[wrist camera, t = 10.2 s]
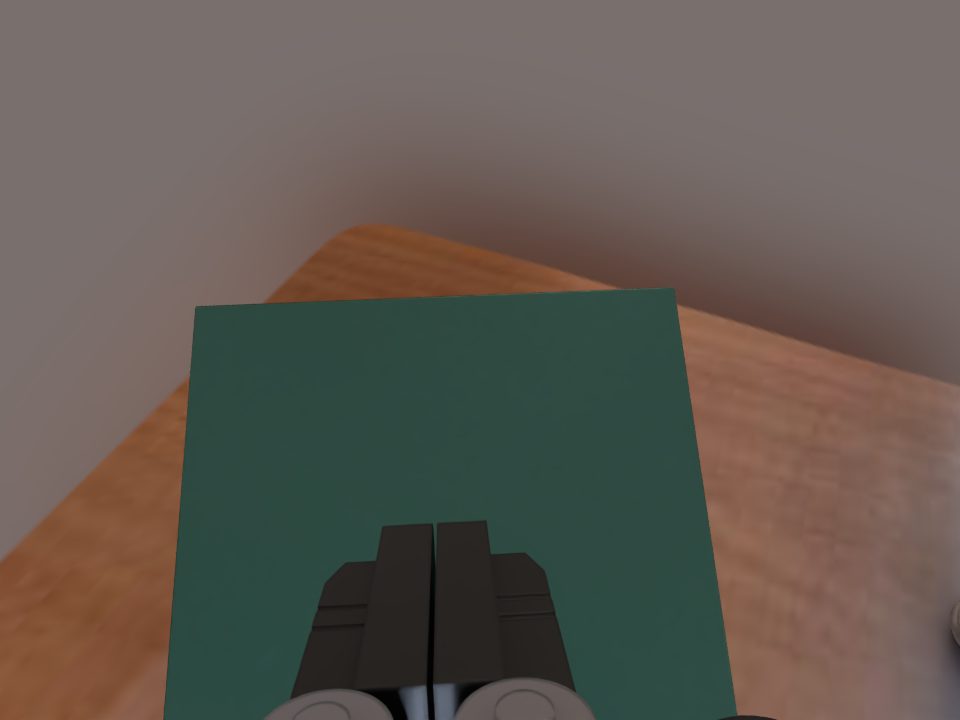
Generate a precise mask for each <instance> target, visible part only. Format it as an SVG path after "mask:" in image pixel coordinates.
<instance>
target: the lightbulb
mask: <svg viewBox="0 0 960 720" xmlns="http://www.w3.org/2000/svg"><path fill="white" fill-rule="evenodd" d="M950 623H951V629H952V632H953V635H954V637H955V639H956V641H957V643H958V644H959V646H960V600H959V601H958V602H957V603H956V604H955V606H954V607H953V609H952V612H951V617H950Z"/></svg>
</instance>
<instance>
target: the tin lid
mask: <svg viewBox="0 0 960 720" xmlns="http://www.w3.org/2000/svg"><path fill="white" fill-rule="evenodd" d="M481 520H487V527H488V535H489V543H490V551H491V554H506V553H524V552H525V553H526V554H528V555H529V556H530V557H531V558H532V559H533V560H534V561H535V562H536V563H537V564H538V565H539V566H540V567H542V568H543V569H544V570H545V573H546V577H547V581H548V585H549V589H550V592H551V598H552V600H553V604H554V608H555V612H556V617H557V620H558V624H559V627H560V631H561V635H562V639H563V643H564V647H565V651H566V655H567V659H568V662H569V666H570V670H571V674H572V678H573V682H574V686H575V690H576V693H577V694H578V695H579V696H580V697H582V698H583V699H584V700H585V701H586V703H587V704H588V705H589V706H590V708H591V709H592V711H593V713H594V715H595V717H596V720H718V719H722V718H726V717H731V716H737V710H736V703H735V696H734V689H733V683H732V676H731V669H730V662H729V656H728V649H727V642H726V635H725V629H724V622H723V615H722V608H721V602H720V595H719V588H718V581H717V575H716V568H715V561H714V554H713V548H712V541H711V534H710V527H709V521H708V514H707V507H706V500H705V493H704V487H703V480H702V473H701V466H700V460H699V453H698V446H697V439H696V433H695V426H694V419H693V412H692V406H691V399H690V392H689V385H688V379H687V372H686V365H685V358H684V352H683V345H682V338H681V331H680V325H679V318H678V311H677V304H676V298H675V291H674V288H673V287H665V288H640V289H639V288H638V289H614V290H589V291H564V292H539V293H515V294H490V295H465V296H440V297H416V298H391V299H366V300H342V301H317V302H292V303H267V304H244V305H220V306H219V305H218V306H197V307H196V308H195V319H194V332H193V345H192V358H191V370H190V383H189V396H188V409H187V422H186V435H185V448H184V461H183V474H182V487H181V500H180V513H179V526H178V539H177V552H176V565H175V578H174V591H173V604H172V617H171V630H170V643H169V656H168V669H167V682H166V695H165V707H164V720H263V719H264V718H265V717H266V716H267V715H268V714H269V713H270V712H272V711H273V710H275V709H276V708H277V707H279V706H280V705H282V704H284V703H286V702H288V701H289V700H290V697H291V694H292V690H293V687H294V684H295V680H296V677H297V674H298V670H299V667H300V664H301V660H302V657H303V654H304V650H305V647H306V644H307V640H308V637H309V634H310V632H312V624H313V620H314V617H315V614H316V611H318V604H319V600H320V597H321V594H322V590H323V587H324V584H325V582H326V581H327V580H328V579H329V578H330V577H331V576H332V575H333V574H334V573H335V572H336V571H337V570H338V569H339V568H340V567H341V566H343V565H344V564H345V563H346V562H363V561H376V558H377V552H378V547H379V541H380V536H381V530H382V527H383V526H390V525H409V524H428V523H433V528H434V543H435V561H436V542H437V523H443V522H462V521H481Z"/></svg>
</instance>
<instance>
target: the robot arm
mask: <svg viewBox="0 0 960 720" xmlns="http://www.w3.org/2000/svg"><path fill="white" fill-rule="evenodd" d="M263 720H596V717H595V715H594V713H593V711H592V709H591V708H590V706H589V705H588V704H587V703H586V701H585V700H584V699H583V698H582V697H580V696H579V695H578V694H577V693H576V690H575V686H574V682H573V678H572V674H571V670H570V666H569V662H568V659H567V655H566V651H565V647H564V643H563V639H562V635H561V631H560V627H559V624H558V620H557V617H556V612H555V608H554V604H553V600H552V598H551V592H550V589H549V585H548V581H547V577H546V573H545V570H544V569H543V568H542V567H540V566H539V565H538V564H537V563H536V562H535V561H534V560H533V559H532V558H531V557H530V556H529V555H528V554H526V553H525V552H524V553H506V554H491V551H490V543H489V535H488V527H487V520H481V521H462V522H443V523H437V542H436V561H435V543H434V528H433V523H428V524H409V525H390V526H383V527H382V530H381V536H380V541H379V547H378V552H377V558H376V561H363V562H346V563H345V564H344V565H343V566H341V567H340V568H339V569H338V570H337V571H336V572H335V573H334V574H333V575H332V576H331V577H330V578H329V579H328V580H327V581H326V582H325V584H324V587H323V590H322V594H321V597H320V600H319V604H318V611H316V614H315V617H314V620H313V624H312V632H310V634H309V637H308V640H307V644H306V647H305V650H304V654H303V657H302V660H301V664H300V667H299V670H298V674H297V677H296V680H295V684H294V687H293V690H292V694H291V697H290V700H289V701H288V702H286V703H284V704H282V705H280V706H279V707H277V708H276V709H275V710H273V711H272V712H270V713H269V714H268V715H267V716H266V717H265V718H264V719H263ZM718 720H776V719H772V718H767V717H760V716H745V715H741V716H731V717H726V718H722V719H718Z"/></svg>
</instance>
